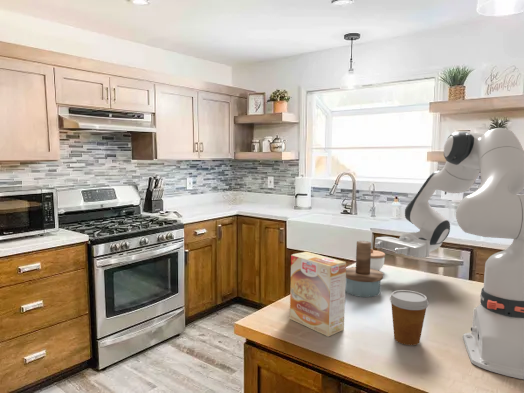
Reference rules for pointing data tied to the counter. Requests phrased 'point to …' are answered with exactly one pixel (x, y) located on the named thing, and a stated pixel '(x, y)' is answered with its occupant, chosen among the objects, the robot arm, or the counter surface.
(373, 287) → the bowl
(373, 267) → the lidded jar
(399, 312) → the disposable coffee cup
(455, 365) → the counter surface
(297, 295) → the coffeecake box
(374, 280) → the lid
